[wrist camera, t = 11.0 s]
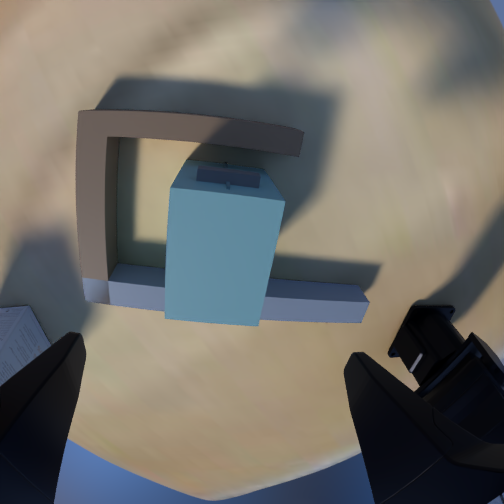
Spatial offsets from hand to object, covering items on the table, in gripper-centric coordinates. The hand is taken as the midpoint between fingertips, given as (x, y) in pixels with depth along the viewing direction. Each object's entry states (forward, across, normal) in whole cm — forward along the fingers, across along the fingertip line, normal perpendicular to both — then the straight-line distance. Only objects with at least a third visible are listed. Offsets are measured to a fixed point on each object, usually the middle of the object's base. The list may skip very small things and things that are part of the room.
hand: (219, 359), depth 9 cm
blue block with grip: (+13, 0, 0) cm, 13 cm away
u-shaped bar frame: (+13, -2, 0) cm, 13 cm away
